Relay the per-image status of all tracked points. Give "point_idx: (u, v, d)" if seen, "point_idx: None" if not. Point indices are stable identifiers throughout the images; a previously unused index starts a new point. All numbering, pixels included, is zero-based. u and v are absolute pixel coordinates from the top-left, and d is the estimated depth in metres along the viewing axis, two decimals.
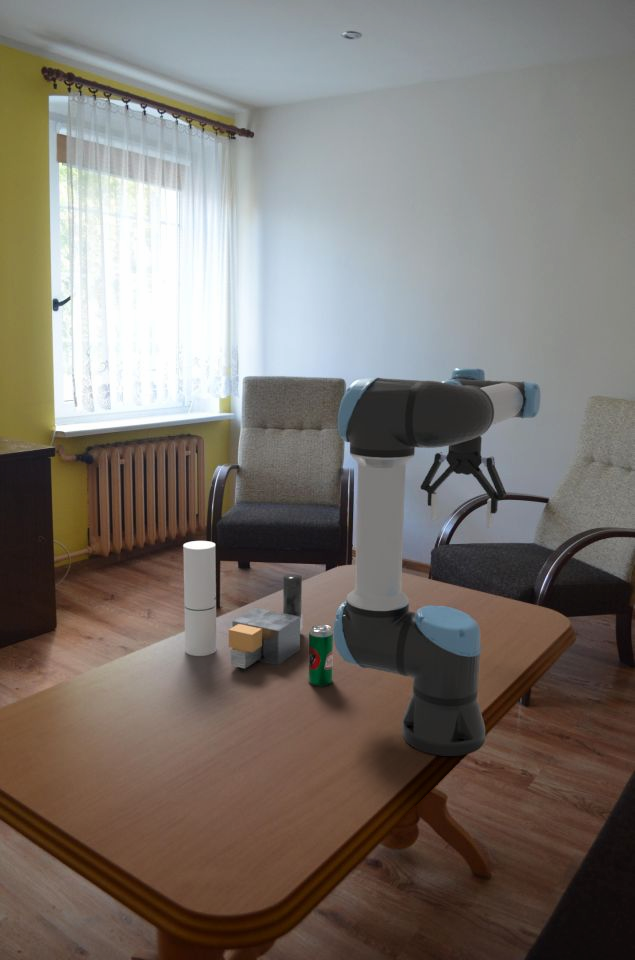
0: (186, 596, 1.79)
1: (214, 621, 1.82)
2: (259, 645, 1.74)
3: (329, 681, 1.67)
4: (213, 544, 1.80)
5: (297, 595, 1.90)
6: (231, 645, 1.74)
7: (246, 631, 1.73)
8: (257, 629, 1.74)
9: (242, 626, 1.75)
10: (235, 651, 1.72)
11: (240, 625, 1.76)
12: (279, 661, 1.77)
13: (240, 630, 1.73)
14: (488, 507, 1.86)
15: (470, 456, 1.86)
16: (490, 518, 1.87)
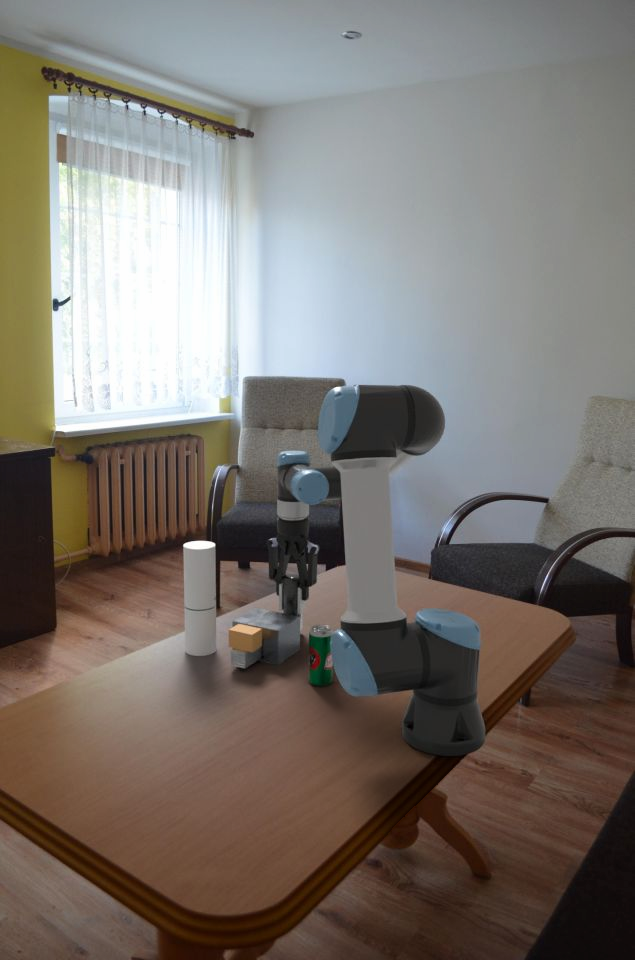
0: (186, 596, 1.79)
1: (214, 621, 1.82)
2: (259, 645, 1.74)
3: (329, 681, 1.67)
4: (213, 544, 1.80)
5: (297, 595, 1.90)
6: (231, 645, 1.74)
7: (246, 631, 1.73)
8: (257, 629, 1.74)
9: (242, 626, 1.75)
10: (235, 651, 1.72)
11: (240, 625, 1.76)
12: (279, 661, 1.77)
13: (240, 630, 1.73)
14: (298, 594, 1.90)
15: (299, 536, 1.87)
16: (302, 605, 1.91)
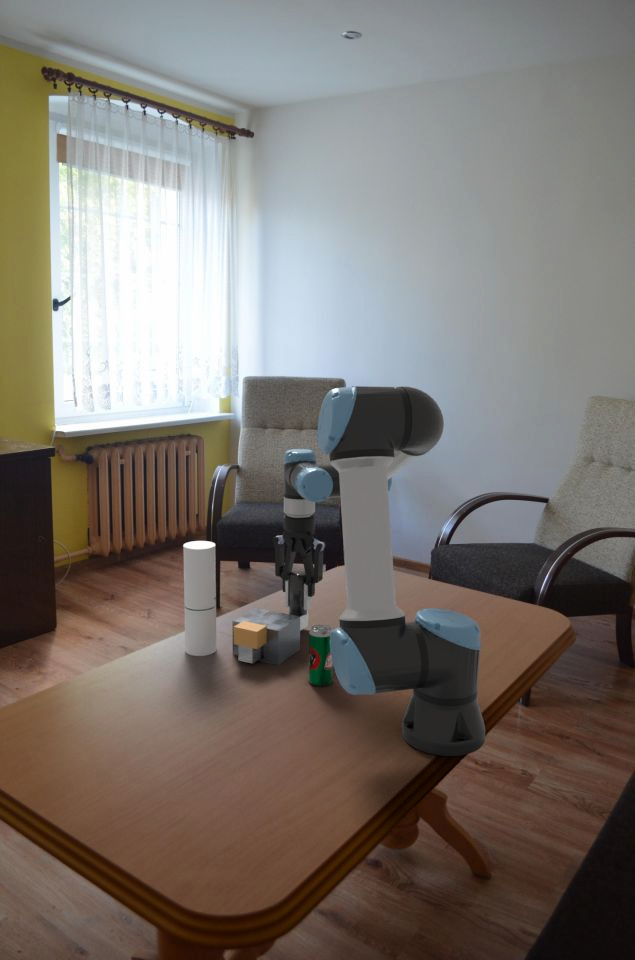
0: (186, 596, 1.79)
1: (214, 621, 1.82)
2: (264, 642, 1.76)
3: (329, 681, 1.67)
4: (213, 544, 1.80)
5: (303, 592, 1.93)
6: (236, 642, 1.76)
7: (251, 628, 1.74)
8: (262, 626, 1.76)
9: (247, 623, 1.77)
10: (242, 646, 1.75)
11: (245, 622, 1.78)
12: (279, 661, 1.77)
13: (244, 627, 1.75)
14: (305, 591, 1.92)
15: (305, 533, 1.90)
16: (308, 601, 1.93)
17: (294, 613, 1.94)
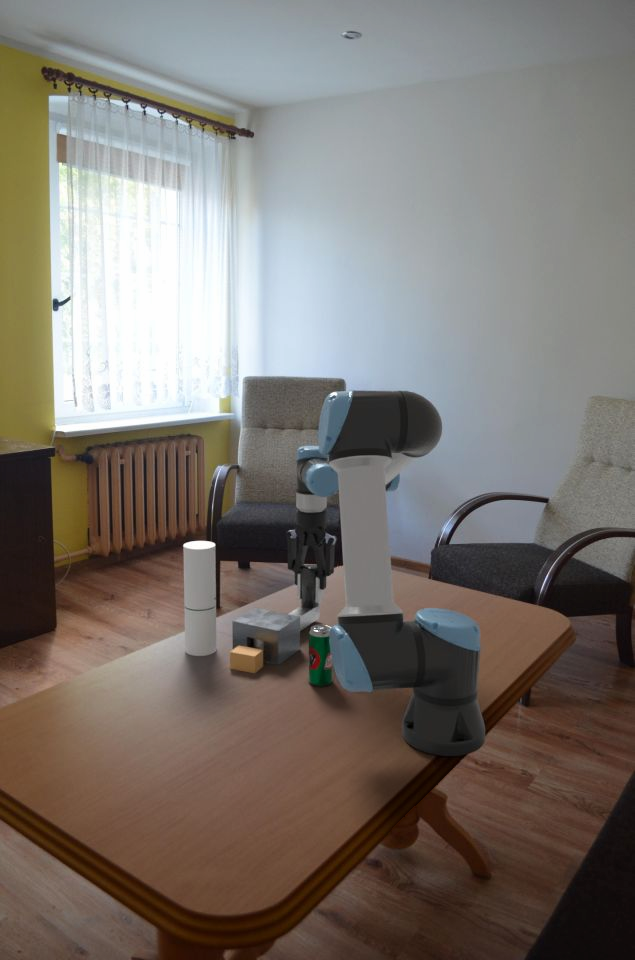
0: (186, 596, 1.79)
1: (214, 621, 1.82)
2: (262, 654, 1.75)
3: (329, 681, 1.67)
4: (213, 544, 1.80)
5: (314, 585, 1.98)
6: None
7: (246, 667, 1.73)
8: (252, 659, 1.72)
9: (236, 657, 1.73)
10: None
11: (233, 655, 1.74)
12: (279, 661, 1.77)
13: (239, 667, 1.73)
14: (316, 584, 1.98)
15: (317, 528, 1.95)
16: (319, 594, 1.99)
17: (306, 605, 1.99)
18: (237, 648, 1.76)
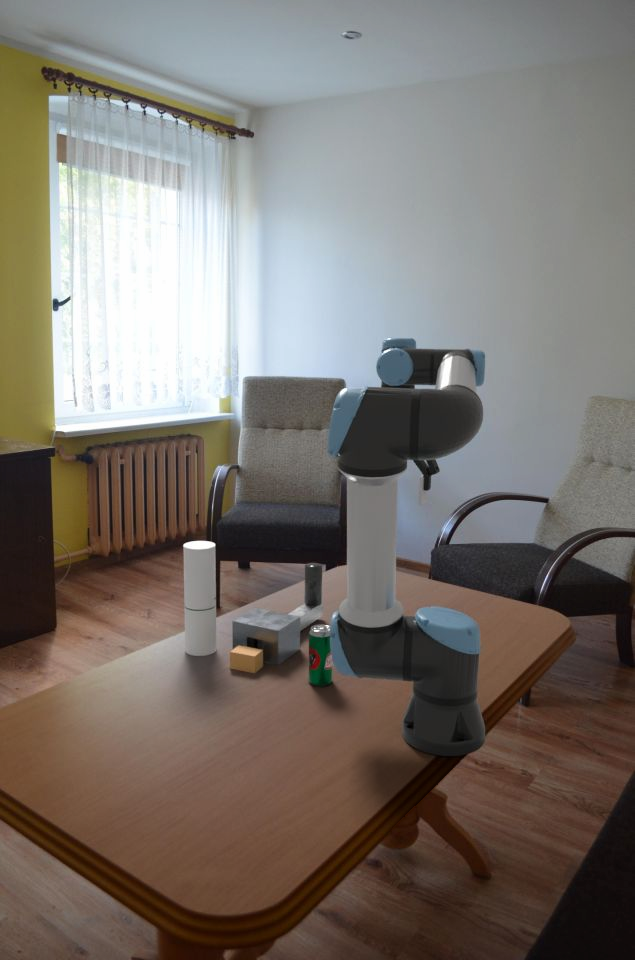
0: (186, 596, 1.79)
1: (214, 621, 1.82)
2: (262, 654, 1.75)
3: (329, 681, 1.67)
4: (213, 544, 1.80)
5: (318, 583, 2.00)
6: None
7: (246, 667, 1.73)
8: (252, 659, 1.72)
9: (236, 657, 1.73)
10: None
11: (233, 655, 1.74)
12: (279, 661, 1.77)
13: (239, 667, 1.73)
14: (420, 484, 1.77)
15: None
16: (423, 495, 1.78)
17: (309, 603, 2.00)
18: (237, 648, 1.76)
